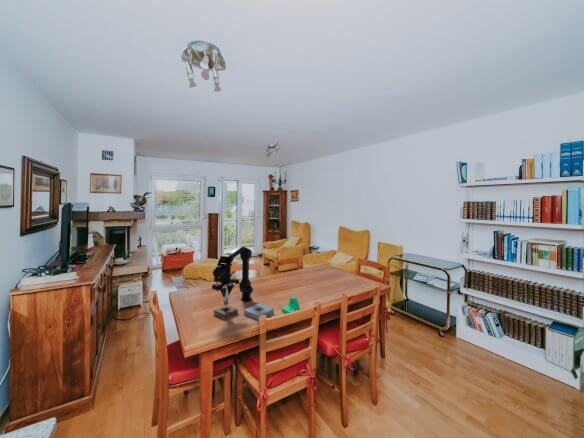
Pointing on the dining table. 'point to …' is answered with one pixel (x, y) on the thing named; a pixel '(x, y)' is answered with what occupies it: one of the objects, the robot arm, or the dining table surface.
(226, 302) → the pin
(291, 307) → the camera mount
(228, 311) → the mount block
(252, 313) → the socket plate
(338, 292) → the dining table surface
